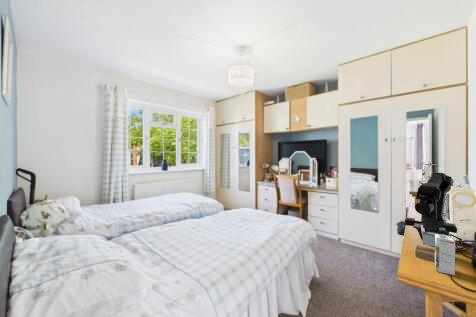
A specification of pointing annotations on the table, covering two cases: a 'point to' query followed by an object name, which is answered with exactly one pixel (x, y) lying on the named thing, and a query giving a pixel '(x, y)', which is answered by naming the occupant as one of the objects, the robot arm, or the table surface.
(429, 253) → the walnut block
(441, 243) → the syrup box
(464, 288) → the table surface
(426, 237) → the painted cube
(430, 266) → the table surface
